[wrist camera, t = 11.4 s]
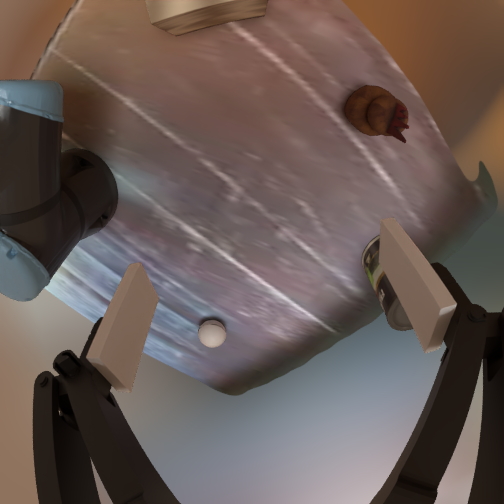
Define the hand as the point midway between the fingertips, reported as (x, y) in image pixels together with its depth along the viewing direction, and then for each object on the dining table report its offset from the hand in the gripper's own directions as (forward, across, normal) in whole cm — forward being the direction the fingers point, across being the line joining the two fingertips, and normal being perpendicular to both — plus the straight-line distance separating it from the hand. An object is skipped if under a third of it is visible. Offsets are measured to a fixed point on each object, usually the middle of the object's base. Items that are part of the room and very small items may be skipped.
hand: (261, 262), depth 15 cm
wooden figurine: (+29, +16, +3) cm, 33 cm away
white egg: (+29, -16, -33) cm, 47 cm away
